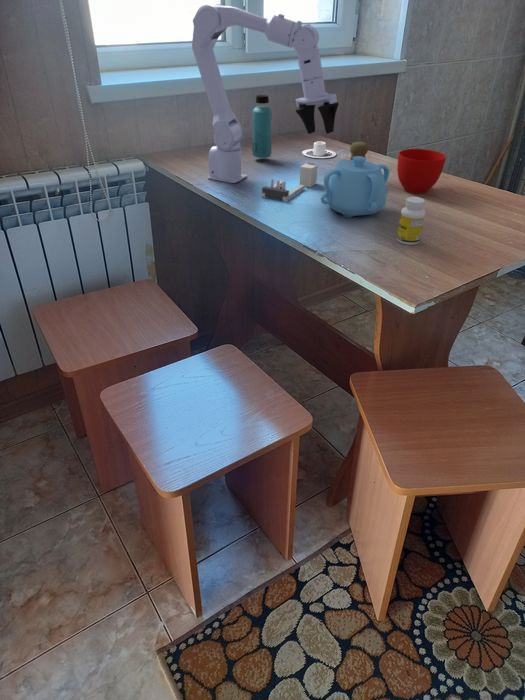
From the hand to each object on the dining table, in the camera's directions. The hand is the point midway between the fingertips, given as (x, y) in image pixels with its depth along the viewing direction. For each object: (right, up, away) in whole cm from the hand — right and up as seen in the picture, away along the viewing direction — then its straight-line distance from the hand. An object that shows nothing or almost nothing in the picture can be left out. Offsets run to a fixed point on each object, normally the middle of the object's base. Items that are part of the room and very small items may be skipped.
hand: (320, 132), depth 141 cm
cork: (+12, -8, +15) cm, 21 cm away
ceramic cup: (+30, -13, +10) cm, 34 cm away
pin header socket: (-11, -16, +3) cm, 20 cm away
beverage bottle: (-16, +4, +32) cm, 36 cm away
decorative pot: (+8, -23, -6) cm, 25 cm away
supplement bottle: (+18, -35, -22) cm, 45 cm away
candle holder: (+4, +8, +39) cm, 40 cm away
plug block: (-3, -11, +11) cm, 16 cm away
